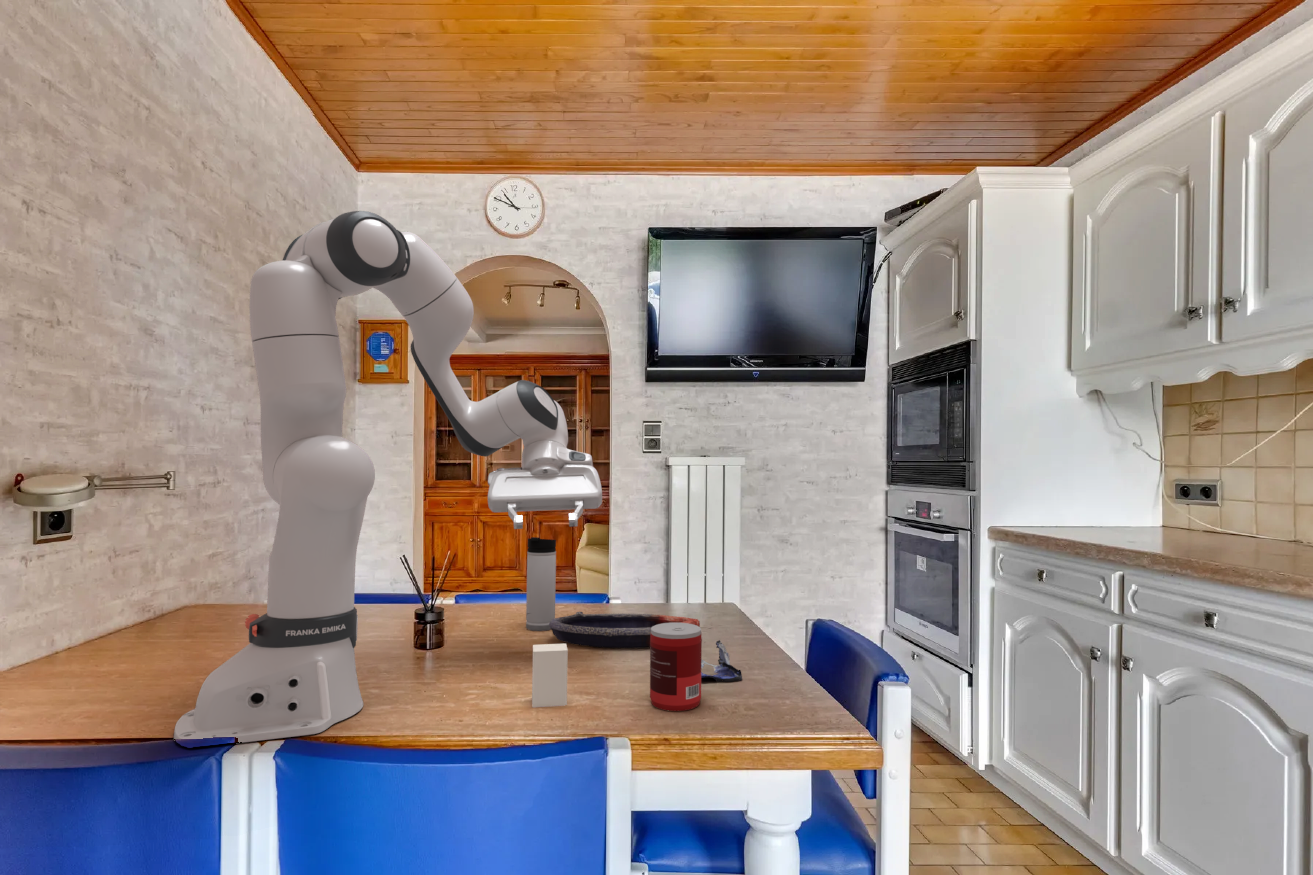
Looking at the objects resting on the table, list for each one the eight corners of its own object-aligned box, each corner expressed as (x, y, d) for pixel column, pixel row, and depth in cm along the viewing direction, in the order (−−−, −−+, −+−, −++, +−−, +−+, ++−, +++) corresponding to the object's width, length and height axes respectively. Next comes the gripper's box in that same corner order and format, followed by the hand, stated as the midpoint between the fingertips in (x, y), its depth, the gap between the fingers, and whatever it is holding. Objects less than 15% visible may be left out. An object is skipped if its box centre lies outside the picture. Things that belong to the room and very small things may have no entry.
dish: (555, 632, 145) (556, 608, 145) (698, 634, 144) (698, 610, 144) (541, 651, 129) (542, 624, 130) (701, 653, 128) (701, 627, 129)
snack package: (749, 669, 119) (685, 661, 123) (749, 634, 119) (684, 628, 122) (738, 702, 108) (668, 693, 111) (738, 664, 107) (667, 656, 110)
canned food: (702, 694, 104) (702, 622, 104) (700, 713, 96) (700, 635, 96) (652, 692, 105) (653, 621, 105) (647, 710, 97) (647, 633, 97)
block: (566, 705, 99) (567, 650, 99) (532, 707, 98) (533, 651, 98) (565, 696, 103) (566, 643, 103) (531, 698, 102) (532, 644, 102)
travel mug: (519, 630, 145) (521, 537, 146) (535, 623, 151) (536, 534, 152) (545, 632, 143) (546, 538, 144) (559, 626, 149) (561, 535, 150)
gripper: (487, 457, 122) (482, 516, 112) (599, 454, 125) (604, 511, 115) (490, 480, 126) (485, 539, 117) (598, 477, 129) (603, 534, 120)
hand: (545, 525), depth 116 cm, fingers open, 8 cm apart
